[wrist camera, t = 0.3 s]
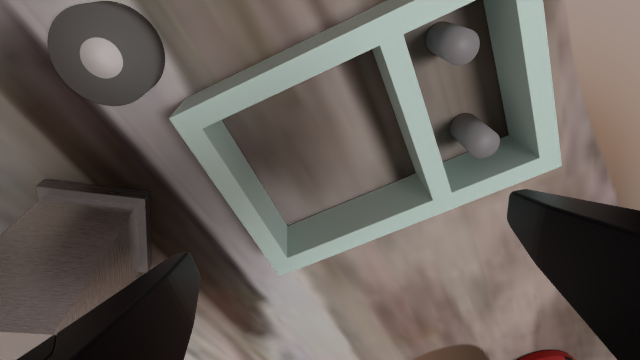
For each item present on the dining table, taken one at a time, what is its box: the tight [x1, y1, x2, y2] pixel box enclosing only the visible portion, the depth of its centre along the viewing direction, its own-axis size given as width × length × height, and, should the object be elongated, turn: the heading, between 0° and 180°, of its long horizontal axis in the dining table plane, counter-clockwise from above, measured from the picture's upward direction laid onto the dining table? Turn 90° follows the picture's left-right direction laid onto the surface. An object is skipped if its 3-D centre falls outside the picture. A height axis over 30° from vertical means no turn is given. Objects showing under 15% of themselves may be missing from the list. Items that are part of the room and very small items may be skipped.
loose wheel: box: [48, 1, 165, 106], centre depth 19 cm, size 5×5×2 cm
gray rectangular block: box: [0, 179, 152, 360], centre depth 21 cm, size 6×6×11 cm
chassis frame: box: [169, 0, 562, 277], centre depth 22 cm, size 12×19×4 cm, turn 114°
